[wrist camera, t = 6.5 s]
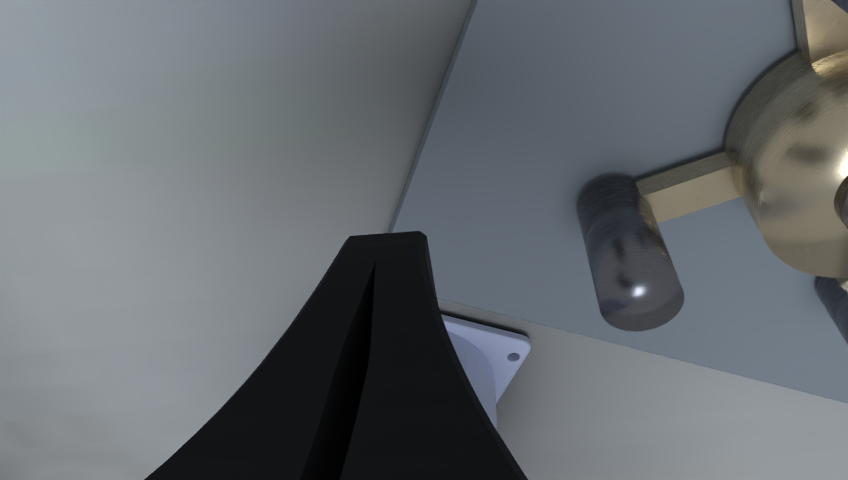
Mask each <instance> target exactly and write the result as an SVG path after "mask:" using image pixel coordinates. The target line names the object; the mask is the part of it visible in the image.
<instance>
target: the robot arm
mask: <svg viewBox="0 0 848 480" xmlns="http://www.w3.org/2000/svg"><path fill="white" fill-rule="evenodd" d="M530 349H531V345H530V340H529V339H528V338H527V337H526V336H524V335H521V334H517V333H513V332H509V331H505V330H501V329H497V328H493V327H489V326H485V325H481V324H477V323H473V322H469V321H465V320H461V319H457V318H453V317H450V316H446V315H442V314H441V313H440V310H439V307H438V302H437V296H436V290H435V283H434V277H433V271H432V265H431V259H430V253H429V246H428V240H427V236H426V235H425V234H424V233H422V232H421V231H410V232H397V233H384V234H371V235H358V236H350V237H349V238H348V239H347V240H346V241H345V243H344V244H343V246H342V248H341V249H340V251H339V252H338V254H337V256H336V257H335V259H334V261H333V262H332V264H331V266H330V267H329V269H328V270H327V272H326V273H325V275H324V277H323V278H322V280H321V281H320V283H319V284H318V286H317V287H316V289H315V290H314V292H313V293H312V295H311V296H310V298H309V299H308V301H307V302H306V304H305V305H304V306H303V308H302V309H301V311H300V312H299V314H298V315H297V316H296V318H295V319H294V321H293V322H292V324H291V325H290V326H289V328H288V329H287V330H286V332H285V333H284V334H283V336H282V337H281V338H280V339H279V341H278V342H277V343H276V345H275V346H274V347H273V348H272V350H271V351H270V352H269V354H268V355H267V356H266V357H265V359H264V360H263V361H262V362H261V364H260V365H259V366H258V367H257V369H256V370H255V371H254V372H253V373H252V374H251V376H250V377H249V378H248V379H247V380H246V381H245V383H244V384H243V385H242V386H241V387H240V388H239V389H238V390H237V391H236V393H235V394H234V395H233V396H232V397H231V398H230V399H229V400H228V401H227V402H226V403H225V404H224V406H223V407H222V408H221V409H220V410H219V411H218V412H217V413H216V414H215V415H214V416H213V417H212V418H211V419H210V420H209V421H208V422H207V423H206V424H205V425H204V426H203V427H202V428H201V429H200V430H199V431H198V432H197V433H196V434H195V435H194V436H192V437H191V438H190V439H189V440H188V441H187V442H186V443H185V444H184V445H183V446H182V447H181V448H180V449H179V450H178V451H177V452H175V453H174V454H173V455H172V456H171V457H170V458H169V459H168V460H167V461H166V462H165V463H163V464H162V465H161V466H160V467H159V468H158V469H156V470H155V471H154V472H153V473H152V474H150V475H149V476H148V477H147V478H146V479H145V480H528V479H527V477H526V476H525V475H524V473H523V472H522V470H521V468H520V467H519V465H518V464H517V462H516V460H515V459H514V457H513V456H512V454H511V453H510V451H509V449H508V448H507V446H506V445H505V443H504V442H503V440H502V438H501V437H500V435H499V434H498V427H497V409H496V404H497V402H498V401H499V399H500V397H501V396H502V394H503V393H504V391H505V390H506V388H507V386H508V385H509V383H510V382H511V380H512V379H513V377H514V375H515V374H516V372H517V371H518V369H519V368H520V366H521V364H522V363H523V361H524V360H525V358H526V357H527V355H528V353H529V352H530ZM511 353H516V354H511Z"/></svg>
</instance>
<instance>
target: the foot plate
mask: <svg viewBox="0 0 848 480" xmlns="http://www.w3.org/2000/svg"><path fill="white" fill-rule="evenodd" d="M797 52H799V50H798V43H797V36H796V29H795V21H794V14H793V7H792V0H472V3H471V6H470V9H469V11H468V14H467V17H466V20H465V22H464V25H463V28H462V31H461V33H460V36H459V39H458V42H457V44H456V47H455V50H454V52H453V55H452V58H451V61H450V63H449V66H448V69H447V72H446V74H445V77H444V80H443V83H442V85H441V88H440V91H439V94H438V96H437V99H436V102H435V105H434V107H433V110H432V113H431V116H430V118H429V121H428V124H427V127H426V129H425V132H424V135H423V138H422V140H421V143H420V146H419V149H418V151H417V154H416V157H415V160H414V162H413V165H412V168H411V171H410V173H409V176H408V179H407V182H406V184H405V187H404V190H403V192H402V195H401V198H400V201H399V203H398V206H397V209H396V212H395V214H394V217H393V220H392V223H391V225H390V228H389V231H388V233H397V232H410V231H421V232H422V233H424V234H425V235H426V236H427V240H428V246H429V253H430V259H431V265H432V271H433V277H434V283H435V290H436V296H437V298H440V299H444V300H448V301H451V302H455V303H459V304H463V305H467V306H471V307H475V308H479V309H483V310H486V311H490V312H494V313H498V314H502V315H506V316H510V317H514V318H518V319H521V320H525V321H529V322H533V323H537V324H541V325H545V326H549V327H553V328H557V329H560V330H564V331H568V332H572V333H576V334H580V335H584V336H588V337H592V338H595V339H599V340H603V341H607V342H611V343H615V344H619V345H623V346H627V347H630V348H634V349H638V350H642V351H646V352H650V353H654V354H658V355H662V356H666V357H669V358H673V359H677V360H681V361H685V362H689V363H693V364H697V365H701V366H704V367H708V368H712V369H716V370H720V371H724V372H728V373H732V374H736V375H739V376H743V377H747V378H751V379H755V380H759V381H763V382H767V383H771V384H775V385H778V386H782V387H786V388H790V389H794V390H798V391H802V392H806V393H810V394H813V395H817V396H821V397H825V398H829V399H833V400H837V401H841V402H845V403H848V345H847V343H846V342H845V340H844V338H843V337H842V335H841V333H840V332H839V330H838V328H837V327H836V325H835V324H834V322H833V320H832V319H831V317H830V315H829V314H828V312H827V310H826V309H825V307H824V305H823V304H822V302H821V300H820V299H819V297H818V295H817V292H816V287H817V284H818V281H819V280H820V278H821V277H822V276H816V275H812V274H808V273H805V272H802V271H800V270H797V269H794V268H793V267H791V266H789V265H787V264H786V263H784V262H783V261H782V260H780V259H779V258H778V257H777V256H776V255H775V254H774V253H773V252H772V251H771V249H770V248H769V247H768V245H767V243H766V241H765V240H764V238H763V236H762V234H761V233H760V231H759V229H758V227H757V226H756V224H755V222H754V220H753V219H752V217H751V215H750V213H749V212H748V210H747V208H746V206H745V205H744V203H743V201H742V199H741V198H740V197H738V198H735V199H732V200H729V201H726V202H723V203H719V204H716V205H713V206H710V207H707V208H704V209H701V210H698V211H695V212H692V213H688V214H685V215H682V216H679V217H676V218H673V219H670V220H667V221H664V222H660V223H658V226H659V229H660V231H661V234H662V236H663V239H664V242H665V244H666V247H667V249H668V252H669V255H670V257H671V260H672V263H673V265H674V268H675V270H676V273H677V276H678V278H679V281H680V283H681V286H682V289H683V291H684V303H683V306H682V308H681V310H680V311H679V313H678V314H677V315H676V316H675V317H674V318H673V319H672V320H670V321H669V322H667V323H666V324H664V325H662V326H660V327H657V328H654V329H651V330H646V331H637V332H634V331H624V330H620V329H617V328H615V327H613V326H611V325H610V324H608V323H607V322H606V321H605V320H604V319H603V317H602V315H601V313H600V309H599V305H598V300H597V296H596V292H595V288H594V283H593V279H592V275H591V271H590V266H589V262H588V258H587V253H586V249H585V245H584V241H583V236H582V232H581V228H580V224H579V219H578V215H577V203H578V200H579V198H580V196H581V195H582V193H583V192H584V191H585V190H586V189H587V188H588V187H589V186H591V185H592V184H594V183H596V182H597V181H600V180H603V179H606V178H611V177H623V178H628V179H631V180H633V181H635V182H636V181H639V180H642V179H645V178H648V177H651V176H654V175H657V174H660V173H662V172H665V171H668V170H671V169H674V168H677V167H680V166H683V165H686V164H689V163H691V162H694V161H697V160H700V159H703V158H706V157H709V156H712V155H715V154H718V153H720V152H723V151H724V146H725V140H726V135H727V132H728V129H729V126H730V123H731V121H732V119H733V117H734V115H735V113H736V111H737V109H738V107H739V106H740V104H741V103H742V101H743V100H744V98H745V97H746V96H747V95H748V93H749V92H750V91H751V90H752V88H753V87H754V86H755V85H756V84H757V83H758V82H759V81H760V80H761V79H762V78H763V77H764V76H765V75H766V74H767V73H769V72H770V71H771V70H772V69H773V68H775V67H776V66H777V65H778V64H780V63H781V62H783V61H784V60H786V59H787V58H789V57H790V56H792V55H794V54H795V53H797Z"/></svg>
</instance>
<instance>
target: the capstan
mask: <svg viewBox="0 0 848 480" xmlns="http://www.w3.org/2000/svg"><path fill="white" fill-rule="evenodd" d="M792 7H793V14H794V21H795V29H796V36H797V43H798V50H799V52H797V53H795V54H794V55H792V56H790V57H789V58H787V59H786V60H784V61H783V62H781V63H780V64H778V65H777V66H776V67H775V68H773V69H772V70H771V71H770V72H769V73H767V74H766V75H765V76H764V77H763V78H762V79H761V80H760V81H759V82H758V83H757V84H756V85H755V86H754V87H753V88H752V90H751V91H750V92H749V93H748V95H747V96H746V97H745V98H744V100H743V101H742V103H741V104H740V106H739V107H738V109H737V111H736V113H735V115H734V117H733V119H732V121H731V123H730V126H729V129H728V132H727V135H726V140H725V146H724V151H723V152H720V153H718V154H715V155H712V156H709V157H706V158H703V159H700V160H697V161H694V162H691V163H689V164H686V165H683V166H680V167H677V168H674V169H671V170H668V171H665V172H662V173H660V174H657V175H654V176H651V177H648V178H645V179H642V180H639V181H636V182H635V181H633V180H631V179H628V178H623V177H611V178H606V179H603V180H600V181H597V182H596V183H594V184H592V185H591V186H589V187H588V188H587V189H586V190H585V191H584V192H583V193H582V195H581V196H580V198H579V200H578V203H577V215H578V219H579V224H580V228H581V232H582V236H583V241H584V245H585V249H586V253H587V258H588V262H589V266H590V271H591V275H592V279H593V283H594V288H595V292H596V296H597V300H598V305H599V309H600V313H601V315H602V317H603V319H604V320H605V321H606V322H607V323H608V324H610V325H611V326H613V327H615V328H617V329H620V330H624V331H634V332H637V331H646V330H651V329H654V328H657V327H660V326H662V325H664V324H666V323H667V322H669V321H670V320H672V319H673V318H674V317H675V316H676V315H677V314H678V313H679V311H680V310H681V308H682V306H683V303H684V291H683V289H682V286H681V283H680V281H679V278H678V276H677V273H676V270H675V268H674V265H673V263H672V260H671V257H670V255H669V252H668V249H667V247H666V244H665V242H664V239H663V236H662V234H661V231H660V229H659V226H658V223H660V222H664V221H667V220H670V219H673V218H676V217H679V216H682V215H685V214H688V213H692V212H695V211H698V210H701V209H704V208H707V207H710V206H713V205H716V204H719V203H723V202H726V201H729V200H732V199H735V198H738V197H740V198H741V199H742V201H743V203H744V205H745V206H746V208H747V210H748V212H749V213H750V215H751V217H752V219H753V220H754V222H755V224H756V226H757V227H758V229H759V231H760V233H761V234H762V236H763V238H764V240H765V241H766V243H767V245H768V247H769V248H770V249H771V251H772V252H773V253H774V254H775V255H776V256H777V257H778V258H779V259H780V260H782V261H783V262H784V263H786V264H787V265H789V266H791V267H793V268H794V269H797V270H800V271H802V272H805V273H808V274H812V275H816V276H822V277H821V278H820V280H819V281H818V284H817V287H816V292H817V295H818V297H819V299H820V300H821V302H822V304H823V305H824V307H825V309H826V310H827V312H828V314H829V315H830V317H831V319H832V320H833V322H834V324H835V325H836V327H837V328H838V330H839V332H840V333H841V335H842V337H843V338H844V340H845V342H846V343H847V345H848V0H792Z"/></svg>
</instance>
